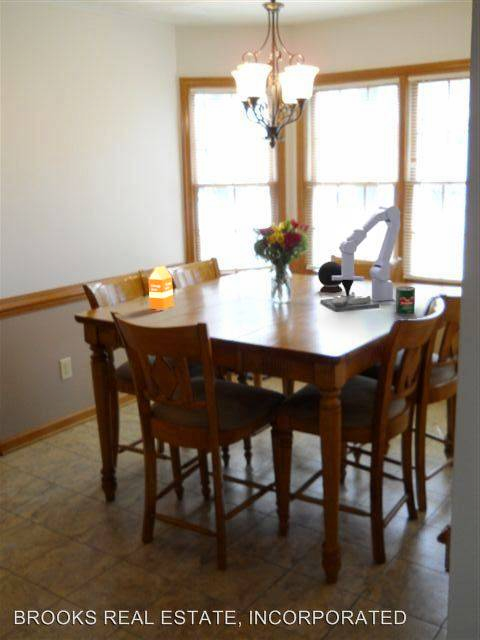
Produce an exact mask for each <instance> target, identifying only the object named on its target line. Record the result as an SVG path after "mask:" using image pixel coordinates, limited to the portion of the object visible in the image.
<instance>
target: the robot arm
mask: <svg viewBox="0 0 480 640" xmlns="http://www.w3.org/2000/svg"><path fill="white" fill-rule="evenodd" d="M401 214H402V213H401V211H400V209H399V207H398V206H396V205H389V204H382V205H380V206H379V207H378V208H377V209H375V211H374V213H373V214H372V215H371V217H370V218H368V220H367V221H366V222H365V223H364V225H362V227H360V228H355V229H353V231H352V232H353V233H352V234H350V236H348V237H346V240H342V242H341V243H340V246H339V247H338V248H339V251H340V253H341V266H342V275H341V276H332V280H342V282H341V285H342V286H343V288H344V292H345V296H346V295H349V294H350V293H351V292H350V291H351V288H352V286H353V284H354V282H364V281H365V277H364V276H361V275H355V253H356V251H357V250H358V249H357V248H358V247H359V246H360V245H361V243H362V242H363V241H364V240H365V239H366V238H367V236H368V235H367V233H369V232H370V231H371V230H372V229H373V228H374V227H376V226H377V224H379V223H380V222H384V223H385V224H386V226H387V228H386V233H385V234H384V238H383V241H382V244H381V248H380V251H379V255H378V258H377V259H376V260H375V261H374V262H373V264H372V266H371V267H370V269H369V276H370V278H371V296H370V297H371V300H372V301H374V302H382V301H383V302H384V301H393V300H395V299H394V284H393V281H392V280H390V276H391V268H392V267H391V264H390V261H391V258H392V255H393V251H394V248H395V245H396V242H397V239H398V235H399V233H400V231H401V230H400V229H401V225H402V224H401Z"/></svg>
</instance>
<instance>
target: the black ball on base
mask: <svg viewBox="0 0 480 640" xmlns="http://www.w3.org/2000/svg"><path fill="white" fill-rule="evenodd" d="M341 275H342V264H340V263H338V262H337V261H327V262H324V263H323V264H321V265H320V267H319V269H318V271H317V277H318V280H319V282H320V284H321V285H322V287H320V290H319V291H321V292H320V293H323V294H336V293H337V294H339V293H342V292H343V288H342V287H341V286H340V285H342V280H332V276H341Z"/></svg>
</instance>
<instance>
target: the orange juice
mask: <svg viewBox="0 0 480 640" xmlns="http://www.w3.org/2000/svg"><path fill="white" fill-rule="evenodd" d="M147 281H148V292H149V293H148V294H149V296H148V297H149V307H150V308H156V309H166V308H168V307H171V306H174V307H175V304H174V291H173V290H174V288H173V276H172V274H170V272H169V271H168V269H167V267H166V265H164V264H163V265H159V266H156V267H154V269H153V270H152V271H151V274H150V276H149V277H148V279H147ZM150 308H149V309H150Z"/></svg>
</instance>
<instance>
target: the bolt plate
mask: <svg viewBox="0 0 480 640" xmlns="http://www.w3.org/2000/svg"><path fill="white" fill-rule="evenodd" d="M371 297H372V296H371V295H370V294H367V295H366V296H364V295H361V296H355V298H347V302H346V294H335V295H333V297H332V298H325V299H320V302H319V303H320V304H322V305H323V306H325V307H327V308H329V309H331V310H333V311H334V312H342V311H352V310H363V309H364V310H365V309H374V308H380V303H379V302H377V301H373V300H371Z"/></svg>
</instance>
